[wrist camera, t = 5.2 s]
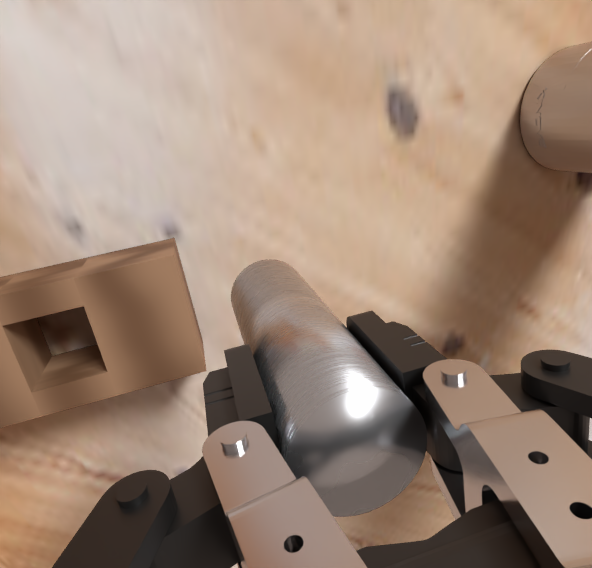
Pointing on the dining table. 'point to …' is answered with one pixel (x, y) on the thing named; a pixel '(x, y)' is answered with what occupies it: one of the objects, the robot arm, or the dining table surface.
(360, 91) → the dining table surface
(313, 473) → the pin
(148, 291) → the socket block
